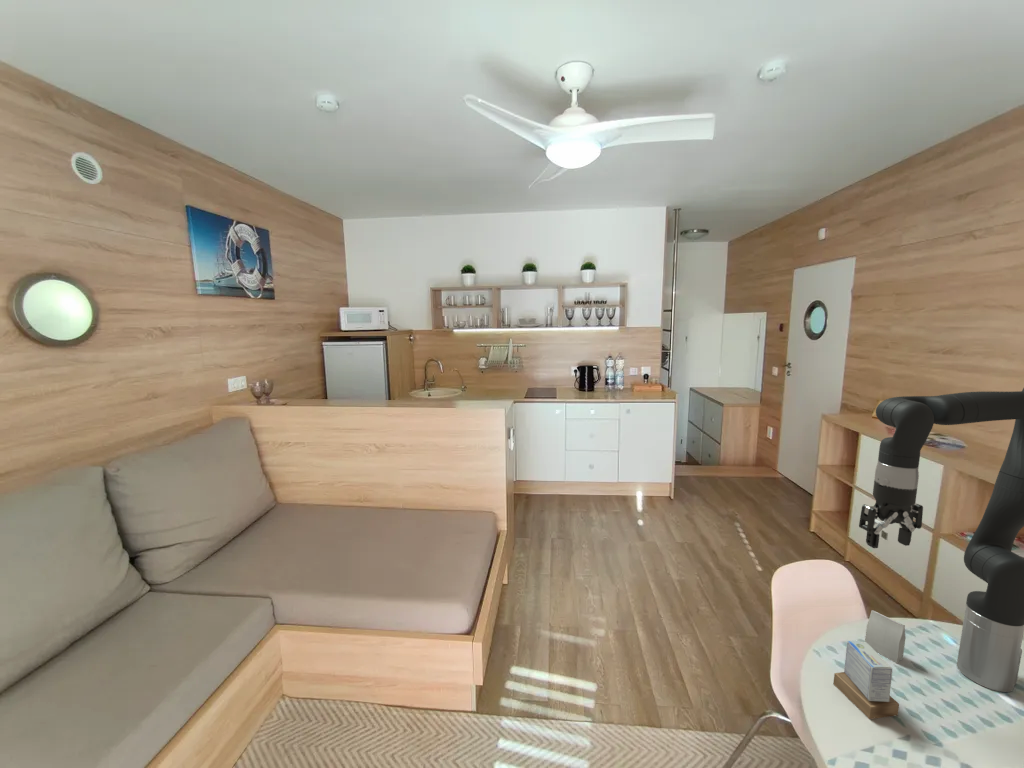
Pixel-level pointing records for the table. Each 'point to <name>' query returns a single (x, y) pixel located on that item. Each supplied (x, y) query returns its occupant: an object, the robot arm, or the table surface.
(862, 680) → the medicine box
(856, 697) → the brown flat rectangular block
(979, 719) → the table surface
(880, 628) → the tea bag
